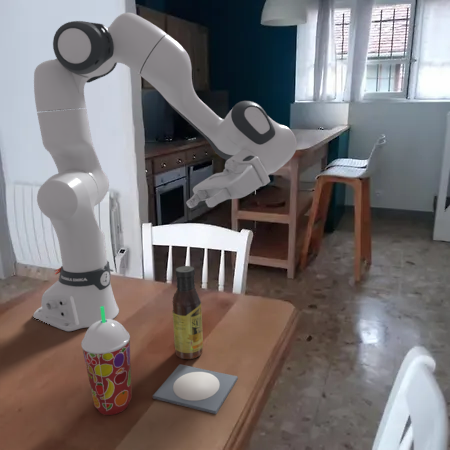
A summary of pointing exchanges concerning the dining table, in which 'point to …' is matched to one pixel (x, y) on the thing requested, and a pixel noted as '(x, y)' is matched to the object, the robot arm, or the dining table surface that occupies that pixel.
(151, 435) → the dining table surface
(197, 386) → the card
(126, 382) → the smoothie
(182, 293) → the sauce bottle
